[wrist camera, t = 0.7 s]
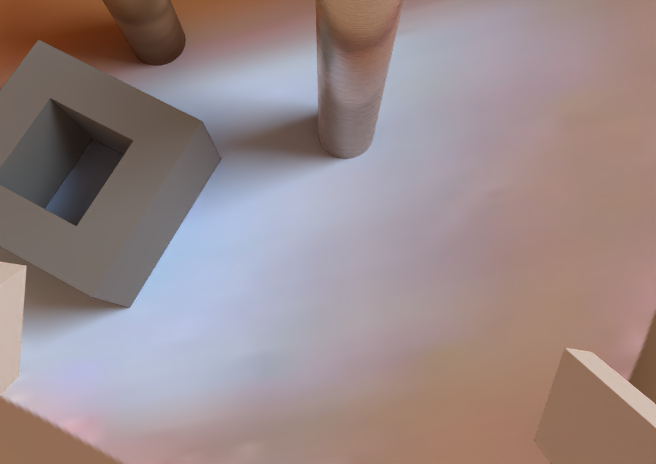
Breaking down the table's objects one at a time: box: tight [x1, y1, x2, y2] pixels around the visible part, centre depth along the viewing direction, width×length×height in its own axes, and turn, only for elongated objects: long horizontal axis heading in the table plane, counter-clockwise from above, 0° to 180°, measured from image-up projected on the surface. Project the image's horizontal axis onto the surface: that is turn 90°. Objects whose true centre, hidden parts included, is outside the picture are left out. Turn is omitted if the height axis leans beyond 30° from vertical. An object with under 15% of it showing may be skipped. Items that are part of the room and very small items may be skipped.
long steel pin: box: [316, 0, 403, 158], centre depth 28 cm, size 4×4×20 cm
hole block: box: [0, 40, 221, 308], centre depth 34 cm, size 12×12×6 cm
